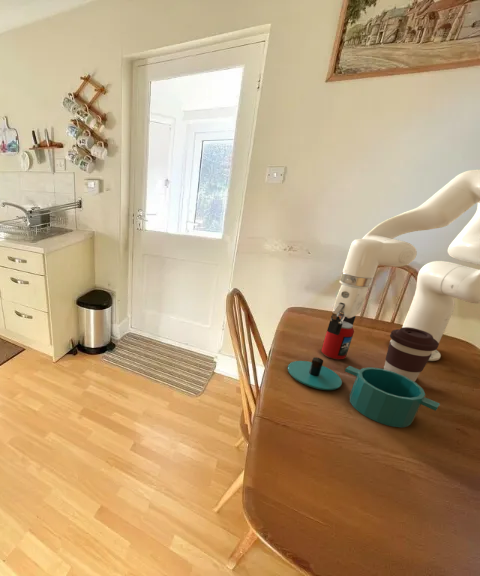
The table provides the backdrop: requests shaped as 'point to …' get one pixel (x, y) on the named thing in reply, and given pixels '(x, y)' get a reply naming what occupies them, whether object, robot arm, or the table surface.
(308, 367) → the lid
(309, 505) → the table surface
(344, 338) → the beverage can
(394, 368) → the coffee cup
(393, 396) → the pot
